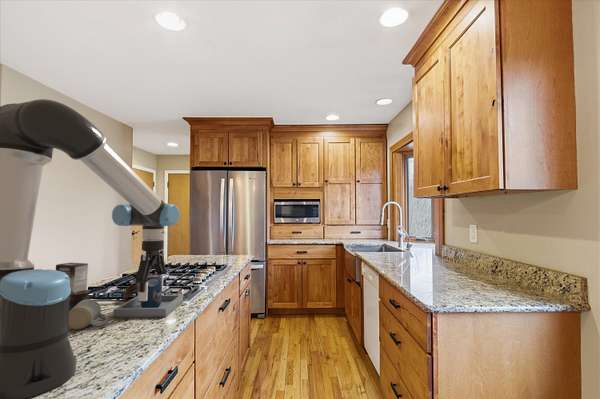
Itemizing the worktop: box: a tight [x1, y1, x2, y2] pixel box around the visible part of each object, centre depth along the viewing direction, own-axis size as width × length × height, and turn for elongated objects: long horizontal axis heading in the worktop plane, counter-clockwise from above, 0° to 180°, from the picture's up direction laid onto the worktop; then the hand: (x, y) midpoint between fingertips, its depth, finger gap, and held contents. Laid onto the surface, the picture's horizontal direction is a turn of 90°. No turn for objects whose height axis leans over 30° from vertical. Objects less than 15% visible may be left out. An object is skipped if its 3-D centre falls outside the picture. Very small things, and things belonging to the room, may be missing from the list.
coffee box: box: [55, 262, 89, 298], centre depth 119 cm, size 9×6×16 cm
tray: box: [112, 294, 184, 319], centre depth 112 cm, size 18×18×3 cm
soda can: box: [141, 273, 163, 308], centre depth 112 cm, size 7×7×12 cm
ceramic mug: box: [68, 298, 109, 330], centre depth 96 cm, size 11×8×8 cm
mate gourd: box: [69, 289, 91, 312], centre depth 107 cm, size 7×8×10 cm
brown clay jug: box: [122, 282, 139, 301], centre depth 126 cm, size 12×10×8 cm
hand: (151, 295), depth 112 cm, fingers open, 13 cm apart
